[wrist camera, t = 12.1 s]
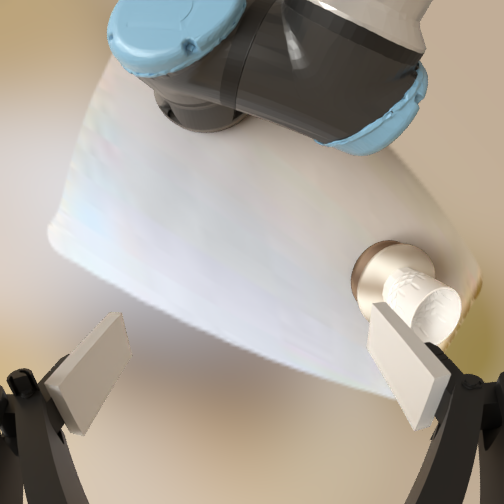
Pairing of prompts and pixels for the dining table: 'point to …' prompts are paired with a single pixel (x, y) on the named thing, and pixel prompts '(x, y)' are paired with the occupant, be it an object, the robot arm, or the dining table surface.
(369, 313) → the cake stand
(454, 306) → the white cup
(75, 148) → the dining table surface
